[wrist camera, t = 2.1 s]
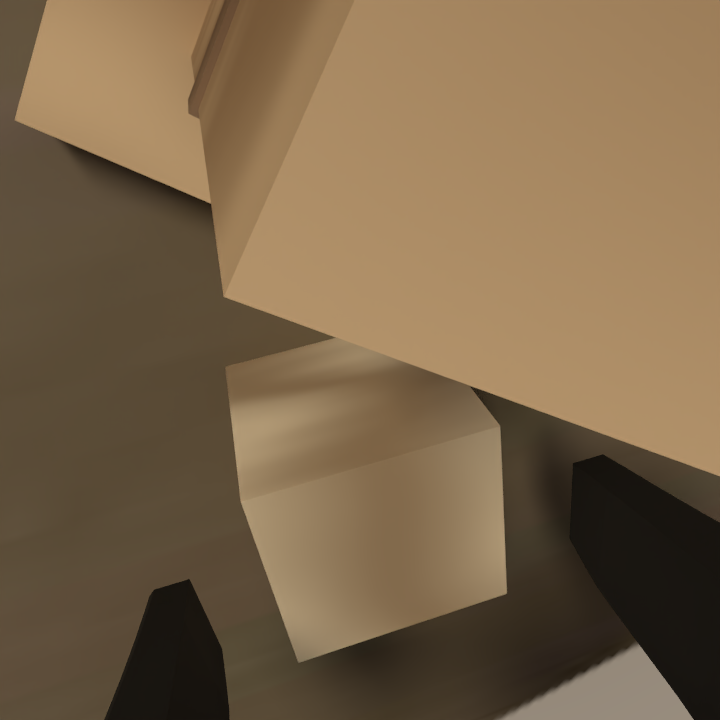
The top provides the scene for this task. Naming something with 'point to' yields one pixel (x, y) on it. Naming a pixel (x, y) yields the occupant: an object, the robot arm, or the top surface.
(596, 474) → the robot arm
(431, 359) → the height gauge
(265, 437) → the cube
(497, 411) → the top surface
